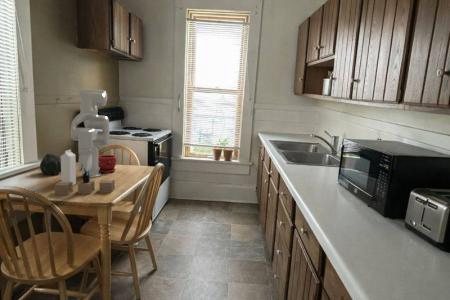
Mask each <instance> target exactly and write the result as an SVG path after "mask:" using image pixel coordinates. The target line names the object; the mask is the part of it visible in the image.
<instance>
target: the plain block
mask: <svg viewBox="0 0 450 300" xmlns="http://www.w3.org/2000/svg"><path fill="white" fill-rule="evenodd" d="M95 184H96V183H95V180H90V181H89V182H83V180H81V181H80V182H78V183H77V195H78V194H79V195H91V194H93V192H95Z"/></svg>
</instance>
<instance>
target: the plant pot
mask: <svg viewBox="0 0 450 300" xmlns="http://www.w3.org/2000/svg"><path fill="white" fill-rule="evenodd" d="M116 164H117V156H116V155H114V154H113V155H111V154H106V155H105V154H104V155H99V173H101V174H109V173H114V172H116Z"/></svg>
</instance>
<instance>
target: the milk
mask: <svg viewBox="0 0 450 300" xmlns="http://www.w3.org/2000/svg"><path fill="white" fill-rule="evenodd" d="M76 157H77V156H76V154H75V153H74V152H72V149H67V150H65V151H64V153H63V154H61V155H60V159H61V172H60V175H61V176H60V178H61V182H73V186H74V185H76V184H77V171H76V170H77V169H76V168H77V167H76V166H77V163H76Z"/></svg>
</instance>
